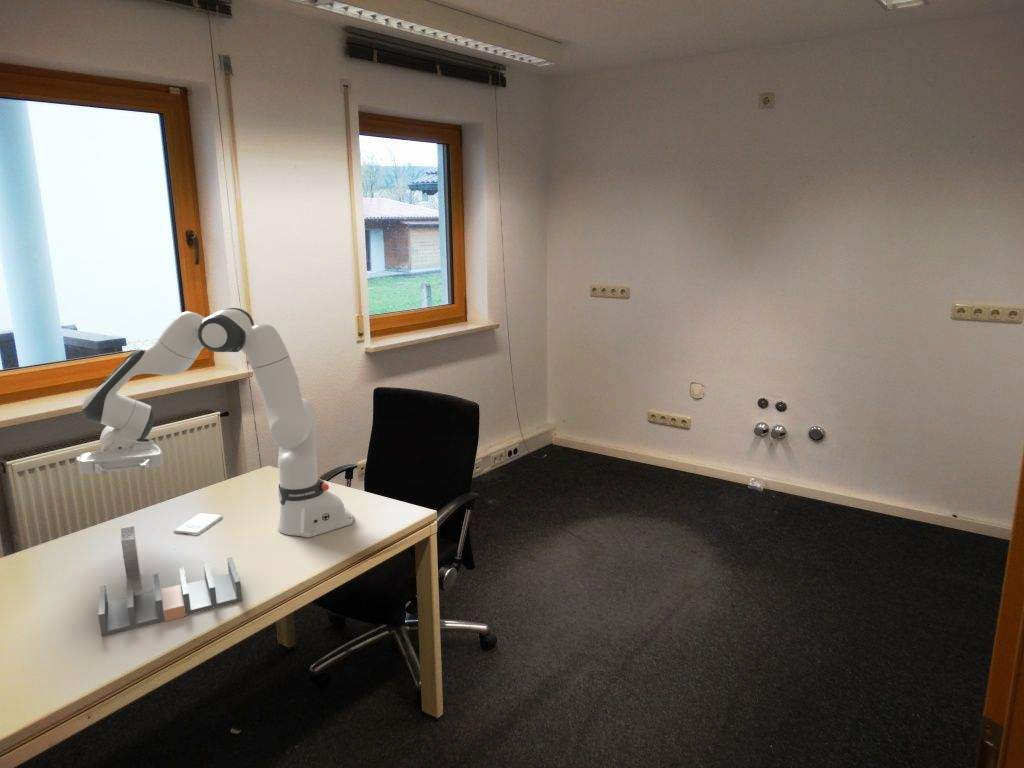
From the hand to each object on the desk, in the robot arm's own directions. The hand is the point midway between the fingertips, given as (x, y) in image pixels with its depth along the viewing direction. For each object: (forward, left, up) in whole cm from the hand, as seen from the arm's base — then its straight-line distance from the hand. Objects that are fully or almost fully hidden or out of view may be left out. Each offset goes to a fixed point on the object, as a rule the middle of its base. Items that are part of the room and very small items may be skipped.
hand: (123, 470), depth 182 cm
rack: (-7, +28, -27) cm, 39 cm away
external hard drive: (-17, -17, -28) cm, 37 cm away
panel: (+1, +12, -27) cm, 30 cm away
